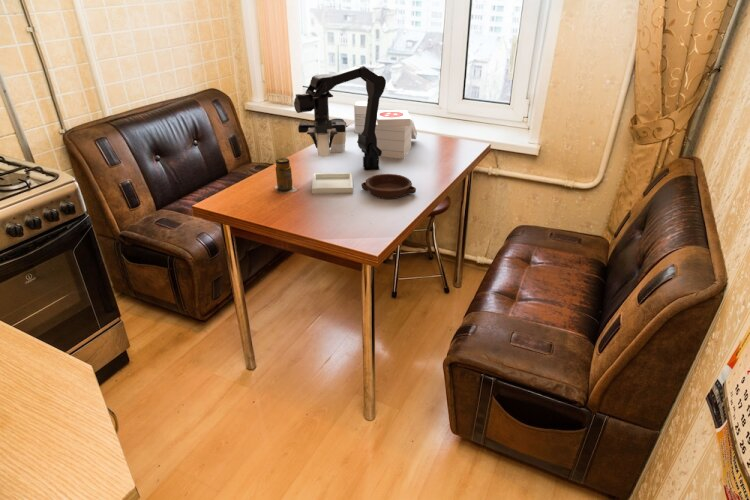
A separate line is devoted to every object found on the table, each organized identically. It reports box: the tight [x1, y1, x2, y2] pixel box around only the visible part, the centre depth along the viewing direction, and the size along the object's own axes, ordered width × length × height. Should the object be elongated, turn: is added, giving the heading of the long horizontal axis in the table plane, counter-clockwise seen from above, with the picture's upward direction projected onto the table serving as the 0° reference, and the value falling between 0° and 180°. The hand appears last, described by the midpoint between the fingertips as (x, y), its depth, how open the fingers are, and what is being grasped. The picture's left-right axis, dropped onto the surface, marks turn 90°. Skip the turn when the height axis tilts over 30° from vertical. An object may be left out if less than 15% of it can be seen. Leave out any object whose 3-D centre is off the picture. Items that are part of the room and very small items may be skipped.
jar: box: [316, 131, 331, 158], centre depth 196 cm, size 5×5×10 cm
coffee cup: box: [328, 118, 347, 154], centre depth 230 cm, size 9×9×15 cm
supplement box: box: [353, 100, 367, 134], centre depth 257 cm, size 9×9×15 cm
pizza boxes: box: [375, 109, 418, 160], centre depth 232 cm, size 19×30×18 cm, turn 163°
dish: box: [361, 173, 417, 200], centre depth 189 cm, size 18×22×5 cm
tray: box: [311, 172, 354, 195], centre depth 195 cm, size 16×16×2 cm
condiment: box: [273, 157, 298, 195], centre depth 190 cm, size 7×8×12 cm
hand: (323, 147), depth 197 cm, fingers closed on jar, 5 cm apart
